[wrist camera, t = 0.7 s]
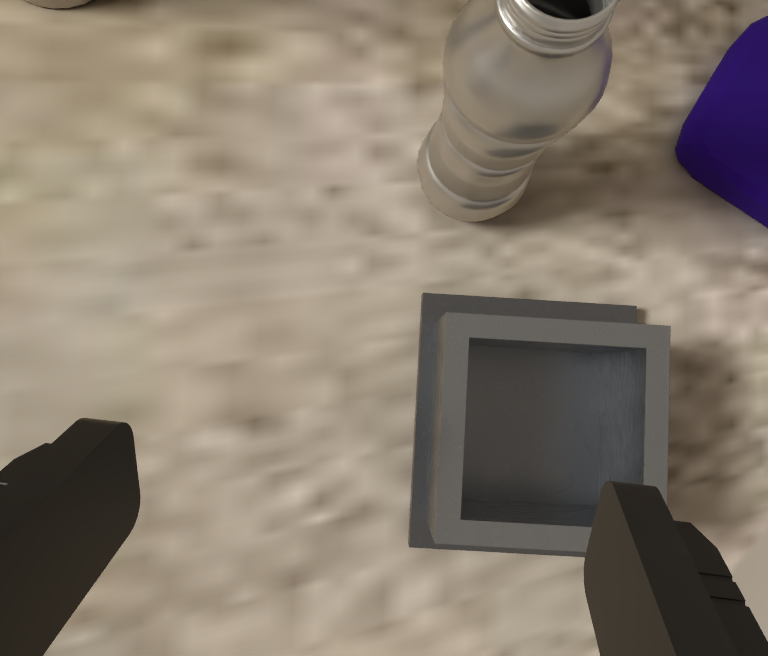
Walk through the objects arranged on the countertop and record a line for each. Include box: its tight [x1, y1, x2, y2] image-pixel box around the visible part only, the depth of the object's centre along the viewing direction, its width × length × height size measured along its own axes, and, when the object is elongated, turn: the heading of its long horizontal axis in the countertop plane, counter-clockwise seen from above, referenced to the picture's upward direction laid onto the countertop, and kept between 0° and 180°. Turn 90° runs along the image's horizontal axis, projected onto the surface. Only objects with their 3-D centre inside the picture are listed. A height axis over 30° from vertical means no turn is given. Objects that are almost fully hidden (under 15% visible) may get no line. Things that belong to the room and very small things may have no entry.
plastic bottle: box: [417, 0, 619, 222], centre depth 29 cm, size 6×7×20 cm
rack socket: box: [408, 293, 670, 557], centre depth 34 cm, size 15×13×7 cm
